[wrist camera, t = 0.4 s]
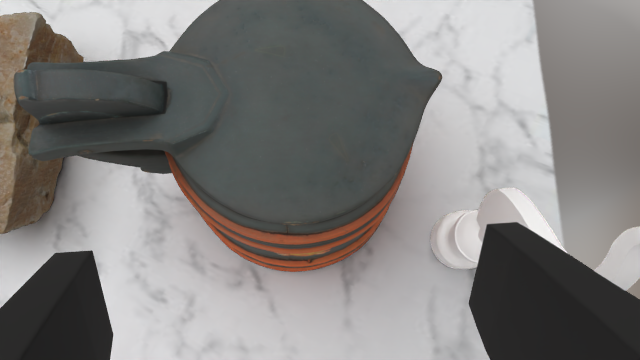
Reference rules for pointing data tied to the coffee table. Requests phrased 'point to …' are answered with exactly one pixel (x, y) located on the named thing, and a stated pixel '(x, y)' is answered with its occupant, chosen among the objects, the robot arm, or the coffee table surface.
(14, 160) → the stone
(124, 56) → the coffee table surface
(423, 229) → the coffee table surface
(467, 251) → the decorative finial
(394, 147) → the tankard
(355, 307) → the coffee table surface
